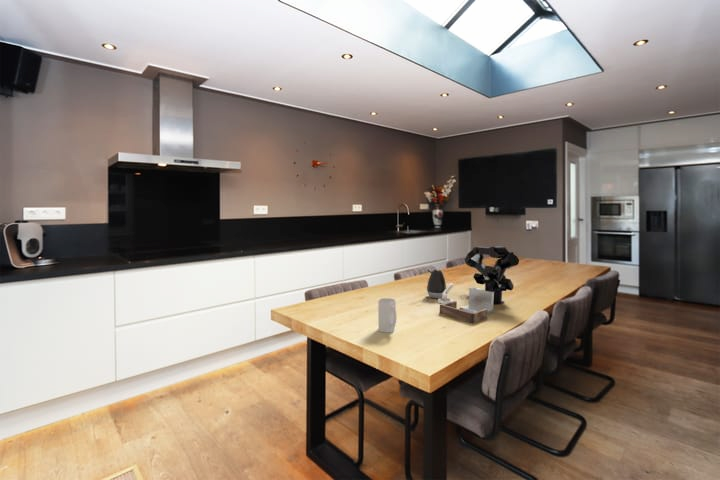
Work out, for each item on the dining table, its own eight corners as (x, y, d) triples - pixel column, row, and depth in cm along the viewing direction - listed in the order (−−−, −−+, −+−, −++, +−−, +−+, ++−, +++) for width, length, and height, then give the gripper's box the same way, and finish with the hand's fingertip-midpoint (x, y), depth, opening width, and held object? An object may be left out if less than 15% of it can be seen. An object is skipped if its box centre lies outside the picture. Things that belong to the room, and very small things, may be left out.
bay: (454, 309, 175) (454, 300, 175) (487, 318, 162) (487, 309, 161) (439, 313, 168) (439, 304, 168) (472, 323, 155) (473, 314, 154)
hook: (464, 294, 182) (454, 287, 181) (449, 312, 185) (438, 305, 183) (459, 287, 190) (449, 280, 188) (444, 305, 192) (434, 298, 190)
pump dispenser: (431, 293, 204) (432, 266, 202) (449, 296, 198) (450, 268, 196) (422, 297, 195) (423, 269, 194) (441, 300, 189) (442, 271, 188)
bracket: (470, 307, 179) (471, 287, 178) (492, 313, 169) (493, 291, 168) (459, 310, 173) (460, 289, 172) (482, 316, 164) (483, 294, 163)
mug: (374, 328, 147) (375, 299, 146) (389, 326, 150) (389, 297, 149) (387, 337, 138) (388, 305, 137) (402, 334, 141) (403, 303, 140)
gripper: (476, 256, 184) (462, 281, 178) (512, 262, 170) (498, 289, 164) (484, 270, 190) (470, 295, 184) (519, 276, 176) (506, 303, 170)
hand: (485, 295), depth 175 cm, fingers closed
